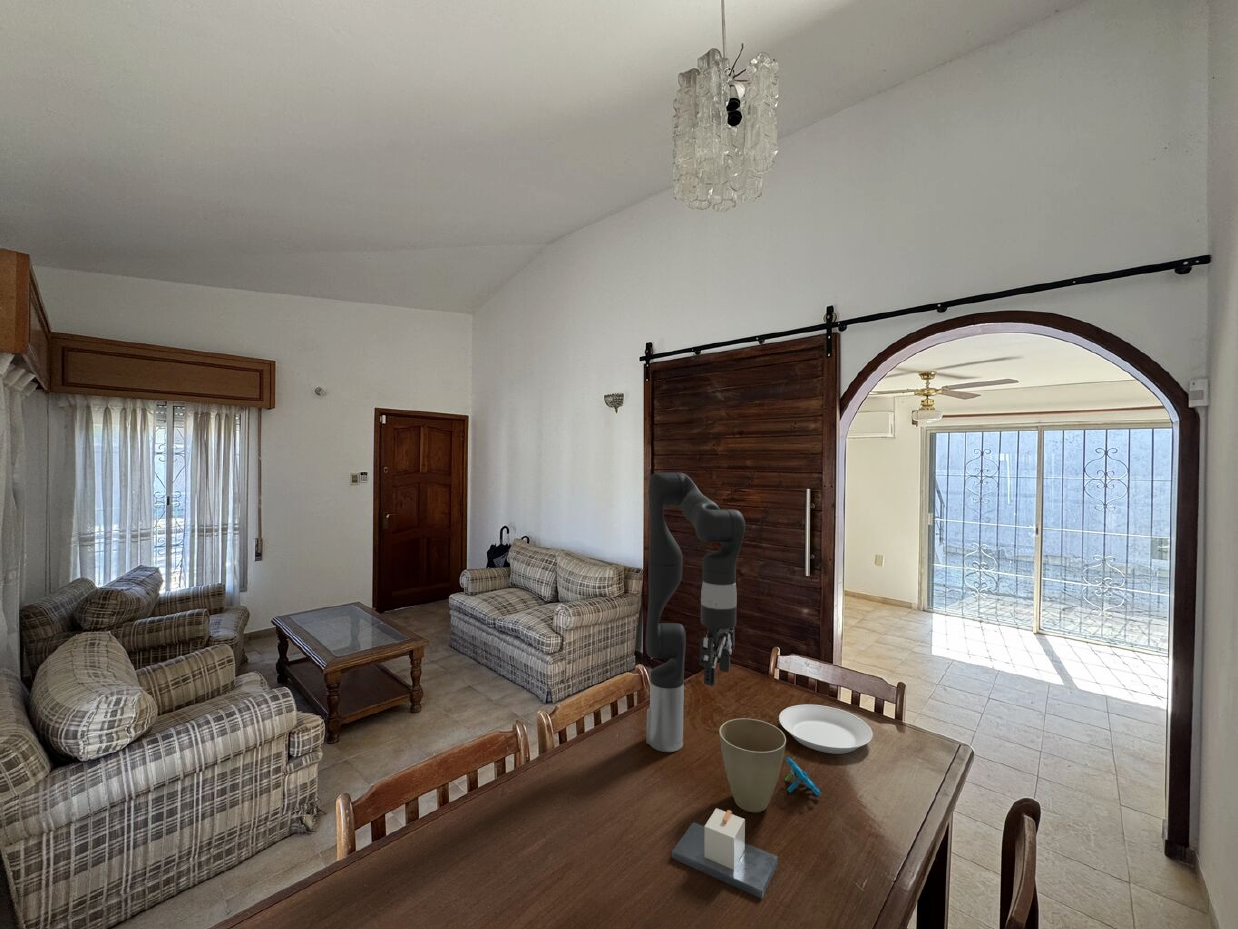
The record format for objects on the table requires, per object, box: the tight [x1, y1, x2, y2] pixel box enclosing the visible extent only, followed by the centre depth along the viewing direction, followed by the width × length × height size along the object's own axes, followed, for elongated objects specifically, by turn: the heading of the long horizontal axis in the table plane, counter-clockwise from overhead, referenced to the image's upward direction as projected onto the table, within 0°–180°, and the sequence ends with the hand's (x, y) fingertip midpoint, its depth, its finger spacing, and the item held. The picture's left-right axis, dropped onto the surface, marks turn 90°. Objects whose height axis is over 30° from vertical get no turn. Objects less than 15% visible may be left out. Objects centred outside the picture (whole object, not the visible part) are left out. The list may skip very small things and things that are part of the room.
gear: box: [784, 756, 822, 797], centre depth 129 cm, size 11×6×10 cm
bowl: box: [778, 704, 874, 754], centre depth 155 cm, size 25×25×4 cm
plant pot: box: [718, 717, 787, 813], centre depth 124 cm, size 15×15×16 cm
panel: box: [671, 821, 779, 900], centre depth 106 cm, size 18×10×6 cm, turn 58°
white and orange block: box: [704, 807, 746, 870], centre depth 106 cm, size 6×6×7 cm
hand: (717, 677), depth 116 cm, fingers open, 8 cm apart
